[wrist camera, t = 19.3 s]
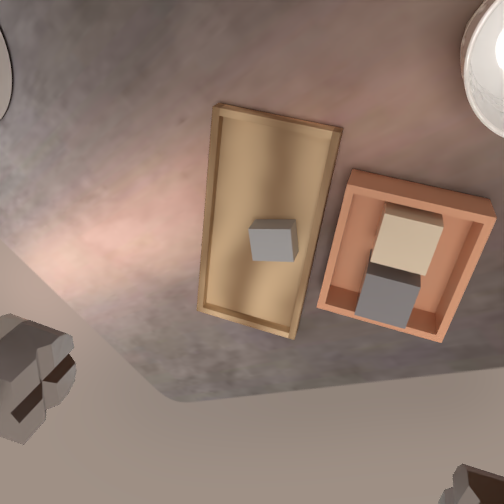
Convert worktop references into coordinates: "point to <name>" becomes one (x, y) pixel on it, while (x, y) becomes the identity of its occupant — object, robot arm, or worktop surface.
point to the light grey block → (274, 240)
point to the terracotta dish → (443, 261)
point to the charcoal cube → (387, 294)
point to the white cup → (485, 64)
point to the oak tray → (262, 213)
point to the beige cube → (406, 238)
